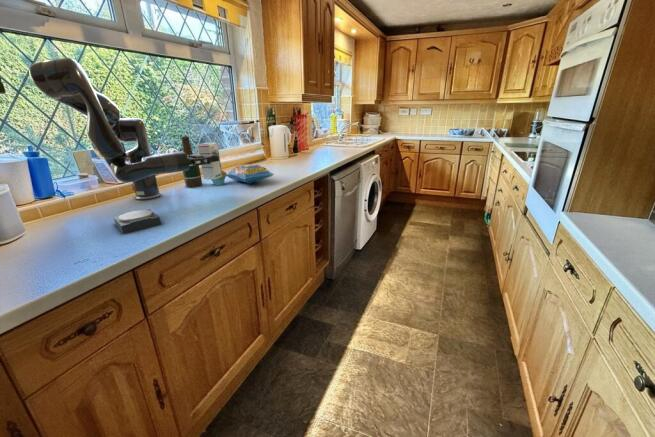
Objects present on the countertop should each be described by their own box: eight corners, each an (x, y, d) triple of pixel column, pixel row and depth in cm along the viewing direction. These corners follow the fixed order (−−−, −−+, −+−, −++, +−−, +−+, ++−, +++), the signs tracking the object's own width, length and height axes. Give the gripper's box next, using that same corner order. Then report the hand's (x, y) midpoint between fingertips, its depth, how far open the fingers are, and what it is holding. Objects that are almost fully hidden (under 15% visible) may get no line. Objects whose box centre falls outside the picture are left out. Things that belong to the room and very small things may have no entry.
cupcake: (206, 185, 150) (202, 161, 146) (218, 181, 158) (214, 158, 154) (220, 186, 147) (216, 162, 143) (231, 182, 155) (228, 159, 151)
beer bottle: (205, 184, 153) (197, 135, 144) (193, 188, 146) (183, 137, 138) (194, 183, 156) (185, 135, 148) (182, 187, 149) (172, 137, 141)
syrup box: (215, 179, 125) (210, 144, 120) (202, 179, 126) (197, 143, 121) (222, 176, 130) (218, 142, 125) (210, 176, 132) (205, 142, 126)
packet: (245, 189, 141) (243, 171, 138) (226, 181, 158) (223, 165, 155) (277, 183, 151) (276, 166, 148) (256, 176, 168) (254, 160, 165)
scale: (115, 224, 102) (112, 215, 101) (151, 216, 109) (149, 207, 108) (123, 233, 94) (120, 223, 92) (161, 224, 101) (159, 214, 99)
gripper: (177, 154, 110) (220, 149, 120) (165, 151, 120) (205, 146, 130) (181, 174, 113) (223, 168, 123) (169, 169, 122) (208, 164, 133)
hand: (214, 157), depth 127 cm, fingers closed on syrup box, 7 cm apart
